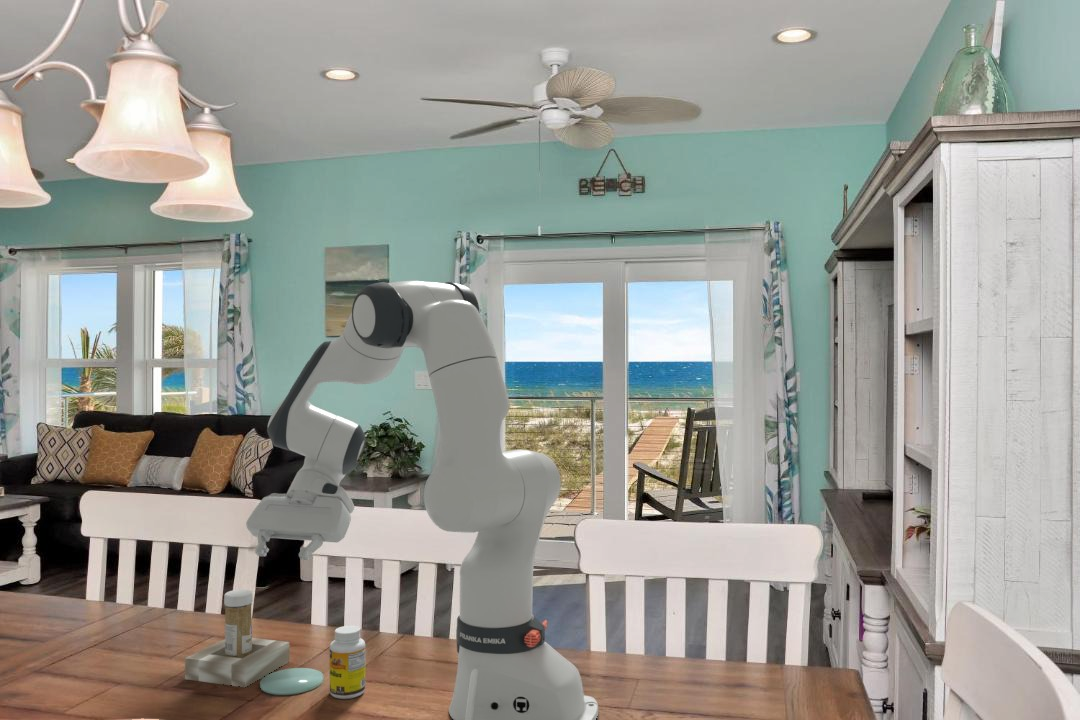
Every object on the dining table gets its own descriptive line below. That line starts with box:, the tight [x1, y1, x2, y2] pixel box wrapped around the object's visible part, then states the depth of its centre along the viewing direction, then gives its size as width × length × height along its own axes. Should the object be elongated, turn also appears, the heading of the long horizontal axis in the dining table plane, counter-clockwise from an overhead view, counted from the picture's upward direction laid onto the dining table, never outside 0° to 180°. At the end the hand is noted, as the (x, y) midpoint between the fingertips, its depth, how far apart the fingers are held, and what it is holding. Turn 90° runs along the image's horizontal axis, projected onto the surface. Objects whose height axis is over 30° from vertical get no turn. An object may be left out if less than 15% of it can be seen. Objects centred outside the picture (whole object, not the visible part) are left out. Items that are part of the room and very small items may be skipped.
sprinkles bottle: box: [223, 588, 253, 658], centre depth 142 cm, size 5×5×14 cm
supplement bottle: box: [329, 625, 366, 700], centre depth 132 cm, size 6×6×10 cm
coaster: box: [259, 667, 324, 696], centre depth 137 cm, size 10×10×1 cm
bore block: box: [184, 637, 290, 688], centre depth 142 cm, size 12×12×4 cm
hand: (281, 556), depth 154 cm, fingers open, 8 cm apart
